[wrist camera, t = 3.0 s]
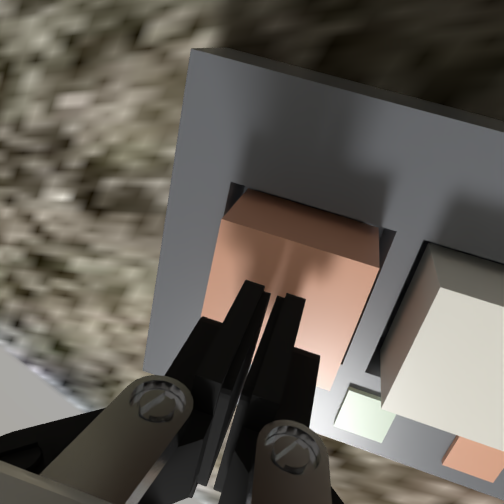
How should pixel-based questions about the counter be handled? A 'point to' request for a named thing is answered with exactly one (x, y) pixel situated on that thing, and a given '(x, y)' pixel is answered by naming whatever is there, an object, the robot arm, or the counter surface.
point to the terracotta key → (297, 270)
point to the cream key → (449, 348)
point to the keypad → (339, 203)
